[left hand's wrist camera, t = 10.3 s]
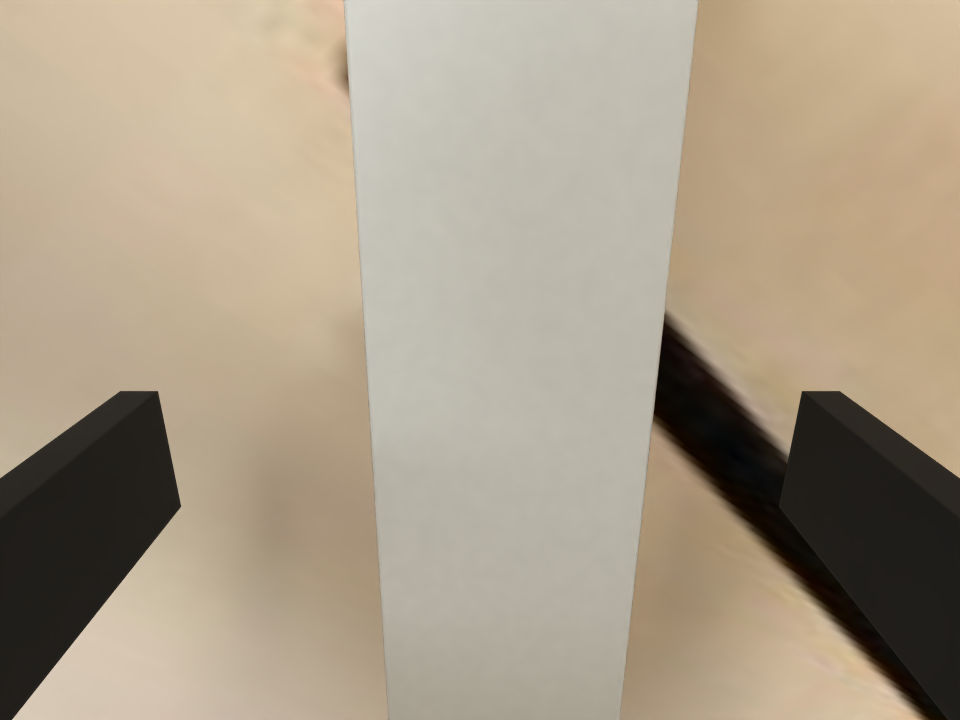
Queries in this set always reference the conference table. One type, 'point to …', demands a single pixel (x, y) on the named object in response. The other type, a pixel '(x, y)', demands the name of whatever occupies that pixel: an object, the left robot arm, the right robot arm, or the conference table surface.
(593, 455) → the post
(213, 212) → the conference table surface
